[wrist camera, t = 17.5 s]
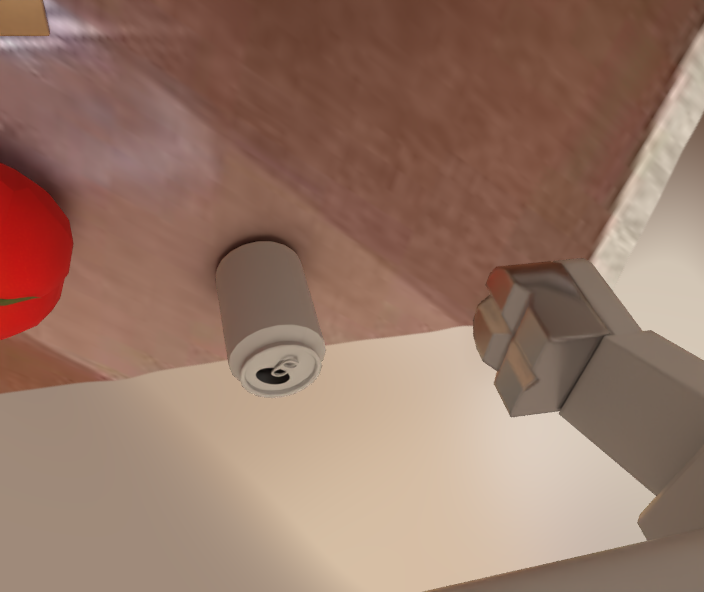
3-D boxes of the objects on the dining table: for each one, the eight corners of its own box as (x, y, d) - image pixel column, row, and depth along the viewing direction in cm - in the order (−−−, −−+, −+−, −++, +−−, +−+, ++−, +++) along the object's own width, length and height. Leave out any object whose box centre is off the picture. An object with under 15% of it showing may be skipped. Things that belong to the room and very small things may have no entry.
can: (197, 281, 56) (212, 393, 48) (245, 221, 53) (269, 330, 45) (268, 307, 61) (292, 413, 53) (316, 253, 57) (350, 357, 49)
